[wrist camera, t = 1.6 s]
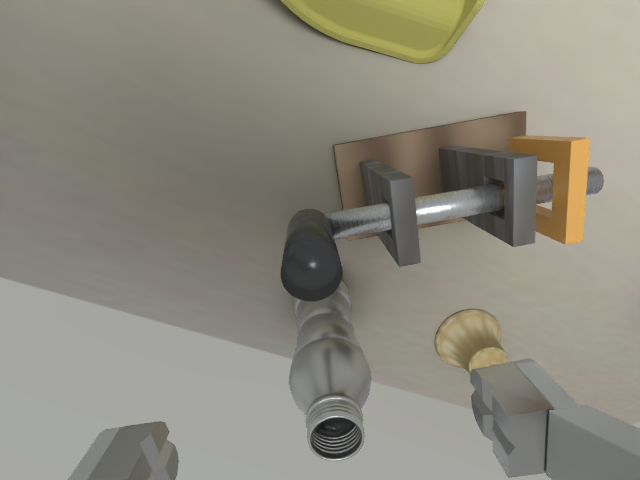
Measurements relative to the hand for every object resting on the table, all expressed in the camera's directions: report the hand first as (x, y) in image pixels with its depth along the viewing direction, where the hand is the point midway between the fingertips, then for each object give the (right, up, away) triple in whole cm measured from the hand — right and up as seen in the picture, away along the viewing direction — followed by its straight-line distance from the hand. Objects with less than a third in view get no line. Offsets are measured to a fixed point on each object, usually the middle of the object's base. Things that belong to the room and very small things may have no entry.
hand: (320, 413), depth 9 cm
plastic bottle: (0, -1, +31) cm, 31 cm away
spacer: (+17, +9, +17) cm, 26 cm away
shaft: (+9, +7, +17) cm, 21 cm away
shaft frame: (+12, +11, +28) cm, 32 cm away
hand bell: (+19, -8, +34) cm, 40 cm away
